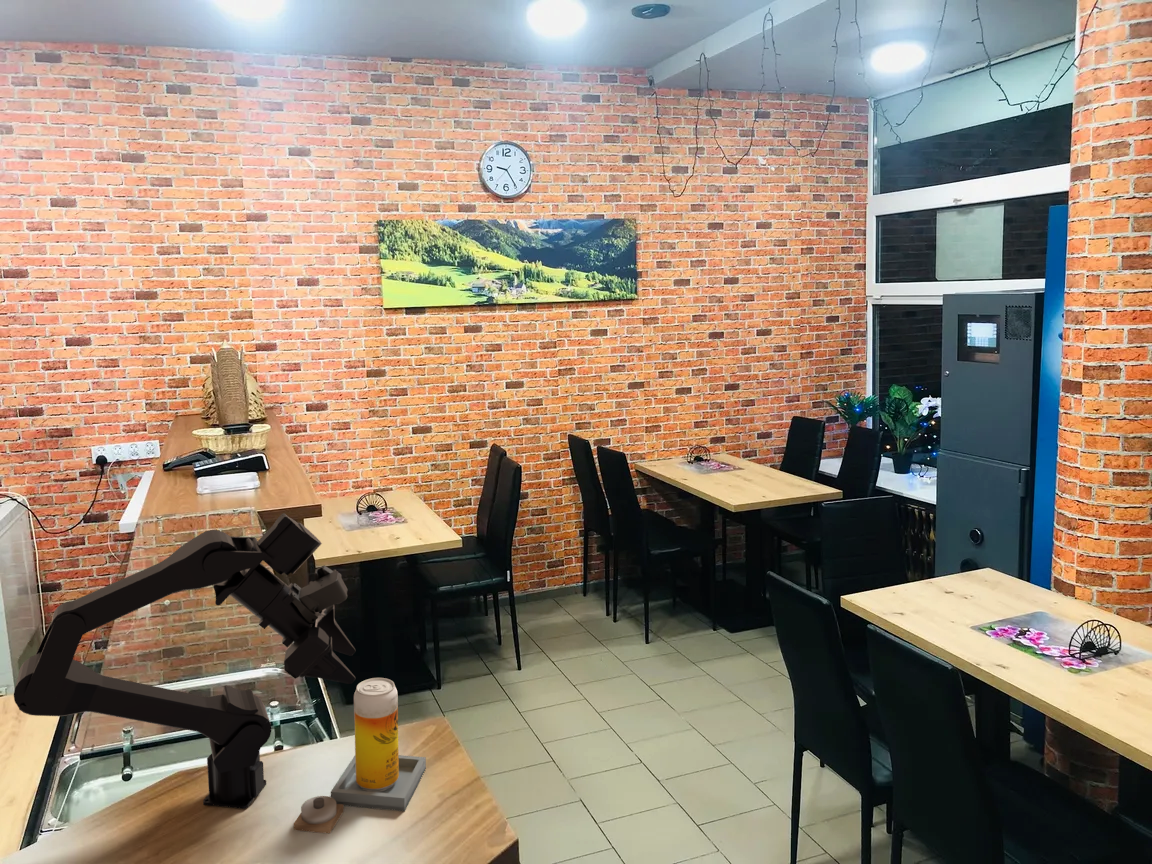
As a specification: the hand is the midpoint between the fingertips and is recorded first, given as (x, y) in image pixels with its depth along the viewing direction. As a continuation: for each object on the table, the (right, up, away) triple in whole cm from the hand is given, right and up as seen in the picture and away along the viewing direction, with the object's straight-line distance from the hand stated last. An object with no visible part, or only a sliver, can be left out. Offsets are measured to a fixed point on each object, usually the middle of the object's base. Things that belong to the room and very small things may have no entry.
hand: (353, 666), depth 127 cm
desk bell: (-3, -19, -7) cm, 20 cm away
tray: (+4, -18, +1) cm, 18 cm away
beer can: (+3, -17, +1) cm, 18 cm away
